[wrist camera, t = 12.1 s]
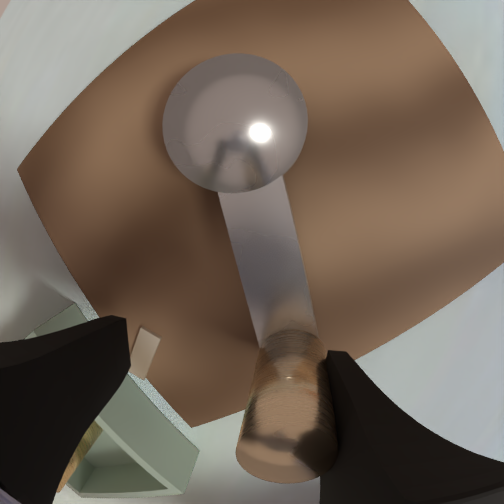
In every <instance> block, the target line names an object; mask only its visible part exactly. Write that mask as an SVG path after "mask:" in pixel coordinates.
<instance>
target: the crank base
mask: <svg viewBox="0 0 504 504" xmlns="http://www.w3.org/2000/svg"><path fill="white" fill-rule="evenodd" d="M233 53H243V54H251V55H255V56H259V57H262V58H265V59H267V60H270V61H272V62H273V63H275V64H277V65H278V66H280V67H281V68H282V69H284V70H285V71H286V72H287V73H288V74H289V75H290V76H291V77H292V78H293V79H294V81H295V82H296V84H297V85H298V87H299V88H300V90H301V92H302V94H303V97H304V100H305V103H306V108H307V115H308V126H307V133H306V138H305V142H304V145H303V148H302V150H301V153H300V155H299V157H298V159H297V160H296V162H295V163H294V165H293V166H292V167H291V168H290V169H289V171H288V172H287V173H286V174H284V180H285V184H286V188H287V192H288V196H289V200H290V204H291V208H292V213H293V217H294V221H295V226H296V230H297V234H298V239H299V243H300V248H301V252H302V257H303V261H304V266H305V271H306V276H307V280H308V285H309V290H310V295H311V300H312V305H313V310H314V315H315V320H316V325H317V330H318V336H319V339H320V341H321V342H322V343H323V345H324V347H325V349H326V353H327V352H328V350H335V351H346V352H347V353H348V354H349V355H350V356H351V357H352V358H353V359H354V360H356V359H358V358H359V357H361V356H363V355H365V354H367V353H369V352H370V351H372V350H374V349H376V348H378V347H379V346H381V345H383V344H385V343H387V342H388V341H390V340H392V339H393V338H395V337H397V336H399V335H400V334H402V333H404V332H405V331H407V330H408V329H410V328H412V327H413V326H415V325H417V324H418V323H420V322H421V321H423V320H424V319H426V318H428V317H429V316H431V315H432V314H434V313H435V312H437V311H438V310H440V309H441V308H443V307H444V306H446V305H447V304H449V303H450V302H452V301H453V300H454V299H456V298H457V297H459V296H460V295H462V294H463V293H464V292H466V291H467V290H468V289H470V288H471V287H473V286H474V285H475V284H477V283H478V282H479V281H481V280H482V279H483V278H485V277H486V276H487V275H488V274H490V273H491V272H492V271H494V270H495V269H496V268H497V267H499V266H500V265H501V264H502V263H504V151H503V149H502V147H501V144H500V142H499V140H498V138H497V135H496V133H495V131H494V129H493V127H492V125H491V123H490V121H489V119H488V117H487V115H486V113H485V111H484V109H483V107H482V106H481V104H480V102H479V100H478V98H477V96H476V95H475V93H474V91H473V90H472V88H471V86H470V84H469V83H468V81H467V79H466V78H465V76H464V75H463V73H462V71H461V70H460V68H459V67H458V65H457V64H456V62H455V61H454V59H453V58H452V56H451V55H450V53H449V52H448V50H447V49H446V47H445V46H444V45H443V43H442V42H441V41H440V39H439V38H438V36H437V35H436V34H435V32H434V31H433V30H432V29H431V27H430V26H429V25H428V23H427V22H426V21H425V20H424V18H423V17H422V16H421V15H420V14H419V12H418V11H417V10H416V9H415V8H414V6H413V5H412V4H411V3H410V2H409V1H408V0H195V1H194V2H192V3H190V4H189V5H187V6H186V7H184V8H183V9H181V10H180V11H178V12H177V13H175V14H174V15H172V16H171V17H170V18H168V19H167V20H165V21H164V22H163V23H161V24H160V25H158V26H157V27H156V28H154V29H153V30H152V31H150V32H149V33H148V34H146V35H145V36H144V37H143V38H141V39H140V40H139V41H138V42H136V43H135V44H134V45H133V46H131V47H130V48H129V49H128V50H127V51H125V52H124V53H123V54H122V55H121V56H120V57H118V58H117V59H116V60H115V61H114V62H113V63H112V64H110V65H109V66H108V67H107V68H106V69H105V70H104V71H103V72H102V73H101V74H100V75H99V76H98V77H96V78H95V79H94V80H93V81H92V82H91V83H90V84H89V85H88V86H87V87H86V88H85V89H84V90H83V91H82V92H81V93H80V94H79V95H78V96H77V97H76V98H75V99H74V101H73V102H72V103H71V104H70V105H69V106H68V107H67V108H66V109H65V110H64V111H63V112H62V114H61V115H60V116H59V117H58V118H57V119H56V120H55V122H54V123H53V124H52V125H51V126H50V127H49V129H48V130H47V131H46V132H45V133H44V135H43V136H42V137H41V138H40V139H39V141H38V142H37V143H36V145H35V146H34V147H33V148H32V150H31V151H30V152H29V154H28V155H27V156H26V158H25V159H24V160H23V162H22V163H21V164H20V166H19V167H18V169H17V171H18V173H19V175H20V177H21V180H22V182H23V184H24V186H25V189H26V191H27V193H28V195H29V197H30V199H31V201H32V203H33V206H34V208H35V210H36V212H37V214H38V216H39V218H40V219H41V221H42V223H43V225H44V227H45V229H46V231H47V233H48V235H49V236H50V238H51V240H52V242H53V244H54V246H55V247H56V249H57V251H58V253H59V254H60V256H61V258H62V259H63V261H64V263H65V265H66V266H67V268H68V270H69V271H70V273H71V274H72V276H73V278H74V279H75V281H76V282H77V284H78V286H79V287H80V289H81V290H82V292H83V293H84V295H85V296H86V298H87V299H88V301H89V302H90V304H91V305H92V307H93V308H94V310H95V311H96V313H97V314H98V316H99V317H100V318H101V317H105V316H110V315H114V316H118V317H123V318H126V320H127V332H128V342H129V351H130V359H131V367H130V369H129V372H130V373H132V374H134V375H135V376H137V377H139V378H141V379H142V380H144V379H145V378H147V379H148V381H149V382H150V383H151V384H152V385H153V387H154V388H155V389H156V390H157V391H158V392H159V393H160V395H161V396H162V397H163V398H164V399H165V400H166V401H167V402H168V403H169V405H170V406H171V407H172V408H173V409H174V410H175V411H176V412H177V413H178V414H179V415H180V416H181V417H182V419H183V420H184V421H185V422H186V423H187V424H188V425H189V426H190V427H191V428H192V427H195V426H199V425H202V424H205V423H208V422H211V421H214V420H217V419H220V418H223V417H225V416H228V415H231V414H234V413H236V412H239V411H242V410H245V409H246V405H247V401H248V396H249V392H250V387H251V383H252V379H253V374H254V370H255V365H256V361H257V356H258V352H259V349H260V347H259V343H258V340H257V336H256V333H255V329H254V325H253V322H252V318H251V315H250V311H249V307H248V304H247V300H246V296H245V293H244V289H243V286H242V282H241V278H240V275H239V271H238V267H237V263H236V260H235V256H234V252H233V249H232V245H231V241H230V237H229V234H228V230H227V226H226V222H225V218H224V215H223V211H222V207H221V203H220V199H219V196H218V192H216V191H211V190H209V189H206V188H203V187H201V186H199V185H197V184H195V183H194V182H192V181H191V180H189V179H188V178H187V177H186V176H184V175H183V174H182V173H181V172H180V171H179V169H178V168H177V167H176V166H175V164H174V163H173V161H172V160H171V158H170V156H169V154H168V152H167V149H166V146H165V143H164V138H163V127H162V123H163V114H164V110H165V106H166V103H167V101H168V98H169V96H170V94H171V92H172V90H173V89H174V87H175V86H176V84H177V83H178V82H179V81H180V79H181V78H182V77H183V76H184V75H185V74H186V73H187V72H189V71H190V70H191V69H192V68H194V67H195V66H197V65H198V64H200V63H202V62H204V61H206V60H208V59H211V58H213V57H216V56H220V55H225V54H233Z"/></svg>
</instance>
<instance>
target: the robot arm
mask: <svg viewBox="0 0 504 504" xmlns="http://www.w3.org/2000/svg"><path fill="white" fill-rule="evenodd" d="M326 364H327V372H328V379H329V385H330V390H331V396H332V402H333V409H334V416H335V423H336V432H337V442H338V457H337V459H336V462H335V464H334V466H333V467H332V468H331V469H330V470H329V471H327V472H326V473H325V474H323V475H321V476H320V504H504V462H500V461H497V460H494V459H491V458H488V457H485V456H482V455H479V454H476V453H473V452H471V451H469V450H466V449H464V448H462V447H460V446H458V445H455V444H453V443H452V442H450V441H448V440H446V439H444V438H442V437H440V436H439V435H437V434H435V433H434V432H432V431H431V430H429V429H427V428H426V427H424V426H423V425H421V424H420V423H418V422H417V421H416V420H414V419H413V418H412V417H411V416H409V415H408V414H407V413H405V412H404V411H403V410H402V409H400V408H399V407H398V406H397V405H396V404H395V403H394V402H393V401H392V400H391V399H389V398H388V397H387V396H386V395H385V394H384V393H383V392H382V391H381V390H380V389H379V388H378V387H377V386H376V385H375V384H374V382H373V381H372V380H371V379H370V378H369V377H368V376H367V375H366V374H365V372H364V371H363V370H362V369H361V368H360V367H359V365H358V364H357V363H356V362H355V361H354V359H353V358H352V357H351V356H350V355H349V354H348V353H347V352H346V351H335V350H328V352H327V356H326ZM130 367H131V359H130V351H129V342H128V332H127V320H126V318H123V317H118V316H114V315H110V316H105V317H101V318H97V319H94V320H91V321H88V322H85V323H81V324H78V325H75V326H72V327H69V328H66V329H63V330H59V331H56V332H52V333H49V334H45V335H41V336H38V337H33V338H29V339H24V340H18V341H12V342H2V343H0V504H52V503H53V500H54V497H55V494H56V491H57V489H58V486H59V484H60V481H61V479H62V477H63V474H64V472H65V470H66V468H67V466H68V464H69V462H70V460H71V458H72V456H73V454H74V452H75V450H76V448H77V446H78V444H79V443H80V441H81V439H82V437H83V436H84V434H85V433H86V431H87V430H88V428H89V427H90V425H91V424H92V423H93V421H94V420H95V419H96V418H97V416H98V415H99V414H100V412H101V411H102V410H103V408H104V407H105V406H106V405H107V403H108V402H109V401H110V399H111V398H112V397H113V395H114V394H115V393H116V391H117V390H118V389H119V387H120V386H121V384H122V382H123V381H124V379H125V377H126V375H127V373H128V371H129V369H130Z"/></svg>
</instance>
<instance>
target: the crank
mask: <svg viewBox="0 0 504 504" xmlns="http://www.w3.org/2000/svg"><path fill="white" fill-rule="evenodd" d="M307 126H308V115H307V108H306V103H305V100H304V97H303V94H302V92H301V90H300V88H299V87H298V85H297V84H296V82H295V81H294V79H293V78H292V77H291V76H290V75H289V74H288V73H287V72H286V71H285V70H284V69H282V68H281V67H280V66H278V65H277V64H275V63H273V62H272V61H270V60H267V59H265V58H262V57H259V56H255V55H251V54H243V53H233V54H225V55H220V56H216V57H213V58H211V59H208V60H206V61H204V62H202V63H200V64H198V65H197V66H195V67H194V68H192V69H191V70H190V71H189V72H187V73H186V74H185V75H184V76H183V77H182V78H181V79H180V81H179V82H178V83H177V84H176V86H175V87H174V89H173V90H172V92H171V94H170V96H169V98H168V101H167V103H166V106H165V110H164V114H163V123H162V127H163V138H164V143H165V146H166V149H167V152H168V154H169V156H170V158H171V160H172V161H173V163H174V164H175V166H176V167H177V168H178V169H179V171H180V172H181V173H182V174H183V175H184V176H186V177H187V178H188V179H189V180H191V181H192V182H194V183H195V184H197V185H199V186H201V187H203V188H206V189H209V190H211V191H216V192H218V196H219V199H220V203H221V207H222V211H223V215H224V218H225V222H226V226H227V230H228V234H229V237H230V241H231V245H232V249H233V252H234V256H235V260H236V263H237V267H238V271H239V275H240V278H241V282H242V286H243V289H244V293H245V296H246V300H247V304H248V307H249V311H250V315H251V318H252V322H253V325H254V329H255V333H256V336H257V340H258V343H259V347H260V349H259V352H258V356H257V361H256V365H255V370H254V374H253V379H252V383H251V387H250V392H249V396H248V401H247V405H246V409H245V414H244V418H243V422H242V426H241V430H240V435H239V439H238V443H237V447H236V458H237V461H238V462H239V464H240V465H241V466H242V468H243V469H245V470H246V471H247V472H248V473H250V474H251V475H253V476H255V477H257V478H260V479H263V480H266V481H270V482H275V483H299V482H305V481H309V480H312V479H315V478H317V477H319V476H321V475H323V474H325V473H326V472H327V471H329V470H330V469H331V468H332V467H333V466H334V464H335V462H336V459H337V457H338V442H337V432H336V423H335V416H334V409H333V402H332V396H331V390H330V385H329V379H328V372H327V364H326V356H327V353H326V349H325V347H324V345H323V343H322V342H321V341H320V339H319V336H318V330H317V325H316V320H315V315H314V310H313V305H312V300H311V295H310V290H309V285H308V280H307V276H306V271H305V266H304V261H303V257H302V252H301V248H300V243H299V239H298V234H297V230H296V226H295V221H294V217H293V213H292V208H291V204H290V200H289V196H288V192H287V188H286V184H285V180H284V174H286V173H287V172H288V171H289V169H290V168H291V167H292V166H293V165H294V163H295V162H296V160H297V159H298V157H299V155H300V153H301V150H302V148H303V145H304V142H305V138H306V133H307Z"/></svg>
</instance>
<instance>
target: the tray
mask: <svg viewBox="0 0 504 504" xmlns="http://www.w3.org/2000/svg"><path fill="white" fill-rule="evenodd" d="M85 322H88V321H87V320H86V318H85V317H84V316H83V314H82V313H81V311H80V310H79V308H78V307H77V305H76V304H75V303H74V304H73V305H71V306H70V307H68V308H67V309H65V310H64V311H62V312H60V313H59V314H57V315H56V316H54V317H53V318H51V319H50V320H48V321H47V322H45V323H44V324H42V325H41V326H39V327H38V328H37V329H35V330H34V331H32V332H31V333H30V334H29V335H28V336H27V337H26V338H25V339H29V338H33V337H38V336H41V335H45V334H49V333H52V332H56V331H59V330H63V329H66V328H69V327H72V326H75V325H78V324H81V323H85ZM95 421H96V422H97V424H98V425H99V426H100V427H101V428H102V429H103V432H102V433H101V435H100V436H99V437H98V439H97V440H96V442H95V443H94V444H93V446H92V447H91V449H90V450H89V451H88V453H87V454H86V456H85V457H84V458H83V460H82V461H81V463H80V464H79V465H78V467H77V468H76V470H75V471H74V472H73V474H72V475H71V477H70V478H69V480H68V481H67V482H66V485H67V486H69V487H70V488H71V489H72V490H73V491H74V492H75V493H77V494H78V495H79V496H80V497H83V498H142V497H158V496H169V495H179V494H184V492H185V490H186V487H187V484H188V482H189V479H190V476H191V473H192V471H193V468H194V465H195V462H196V460H197V457H198V454H199V452H200V451H199V450H198V449H197V448H196V447H195V446H194V445H193V444H192V443H191V442H190V441H189V440H188V439H187V438H185V437H184V436H183V435H182V434H181V433H180V432H179V431H178V430H177V429H176V428H175V427H174V425H173V424H172V423H171V422H170V421H169V420H168V419H167V418H166V417H165V416H164V415H163V414H162V413H161V412H160V411H159V410H158V409H157V408H156V406H155V405H154V404H153V403H152V402H151V401H150V400H149V399H148V398H147V396H146V395H145V394H144V393H143V392H142V391H141V390H140V388H139V387H138V386H137V385H136V384H135V383H134V381H133V380H132V379H131V378H130V377H129V375H128V374H127V375H126V377H125V379H124V381H123V382H122V384H121V386H120V387H119V389H118V390H117V391H116V393H115V394H114V395H113V397H112V398H111V399H110V401H109V402H108V403H107V405H106V406H105V407H104V408H103V410H102V411H101V412H100V414H99V415H98V416H97V418H96V419H95Z"/></svg>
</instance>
